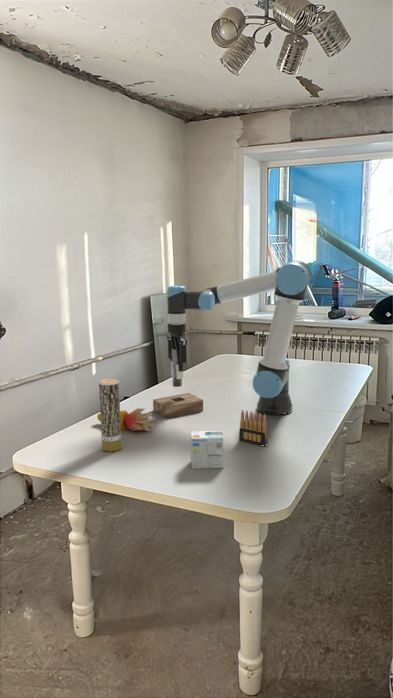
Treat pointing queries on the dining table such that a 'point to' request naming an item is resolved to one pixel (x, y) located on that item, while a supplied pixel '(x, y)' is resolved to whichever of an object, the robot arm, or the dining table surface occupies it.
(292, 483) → the dining table surface
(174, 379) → the pin
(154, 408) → the bore block
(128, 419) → the torch
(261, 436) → the ammunition clip
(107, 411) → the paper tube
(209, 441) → the light bulb box
